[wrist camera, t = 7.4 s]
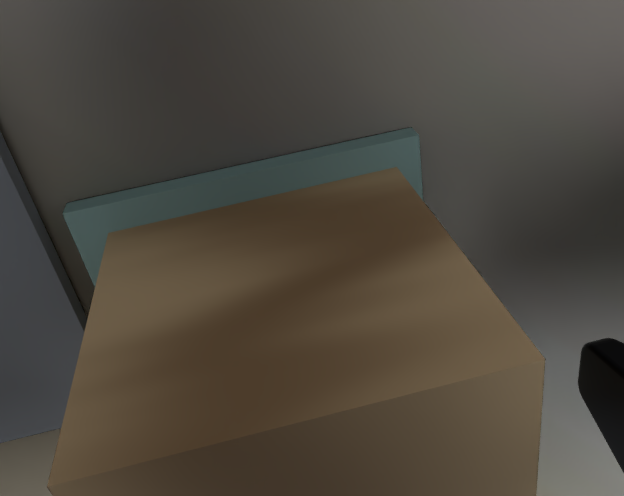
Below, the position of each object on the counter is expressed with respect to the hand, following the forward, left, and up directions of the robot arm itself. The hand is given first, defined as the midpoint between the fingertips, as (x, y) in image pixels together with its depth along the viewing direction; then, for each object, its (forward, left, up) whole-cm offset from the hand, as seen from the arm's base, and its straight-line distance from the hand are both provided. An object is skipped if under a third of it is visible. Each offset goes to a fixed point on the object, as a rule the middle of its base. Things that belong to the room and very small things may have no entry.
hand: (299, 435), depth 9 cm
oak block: (0, 0, -3) cm, 3 cm away
